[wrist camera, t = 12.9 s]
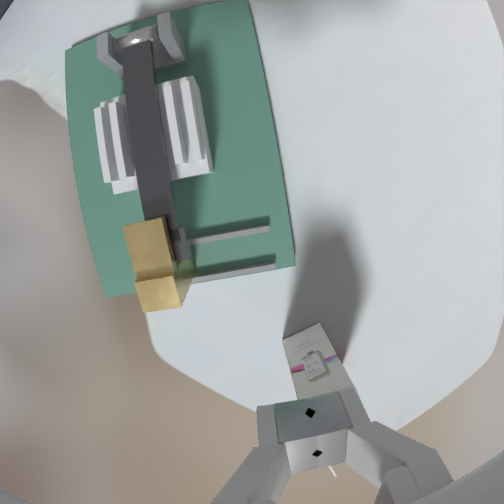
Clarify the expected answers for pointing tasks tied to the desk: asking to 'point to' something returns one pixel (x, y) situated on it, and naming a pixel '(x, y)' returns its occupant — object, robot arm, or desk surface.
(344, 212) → the desk surface
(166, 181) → the strap
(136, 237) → the hook
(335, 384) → the ink cartridge box
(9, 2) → the storage bin
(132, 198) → the board
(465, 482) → the robot arm
